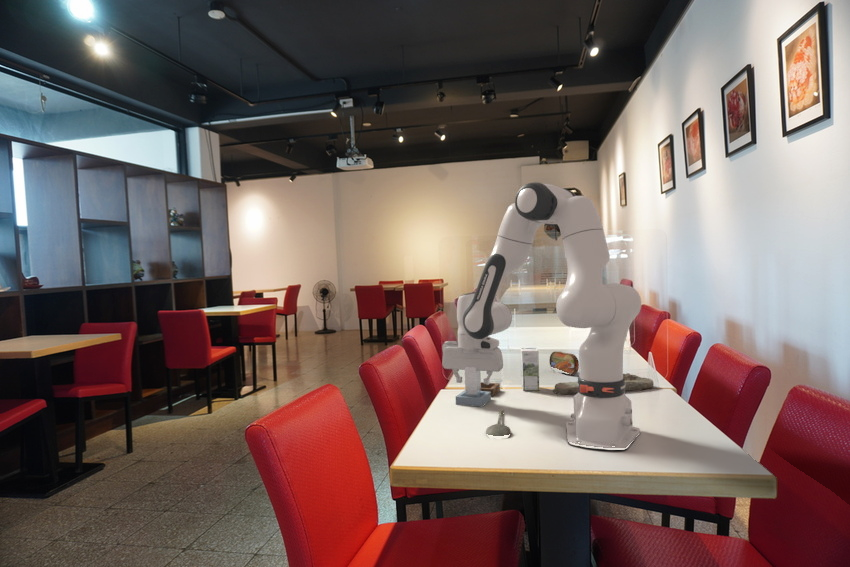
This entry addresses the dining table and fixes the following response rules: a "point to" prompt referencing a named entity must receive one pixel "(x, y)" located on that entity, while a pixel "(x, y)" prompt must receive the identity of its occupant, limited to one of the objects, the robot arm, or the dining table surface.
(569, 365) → the tin
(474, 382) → the steel peg
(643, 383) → the elongated rock
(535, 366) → the syrup box
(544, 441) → the dining table surface
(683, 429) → the dining table surface
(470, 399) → the pair of square sockets
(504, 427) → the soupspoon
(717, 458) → the dining table surface
